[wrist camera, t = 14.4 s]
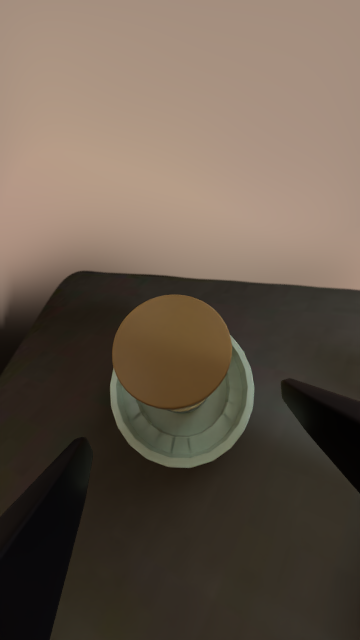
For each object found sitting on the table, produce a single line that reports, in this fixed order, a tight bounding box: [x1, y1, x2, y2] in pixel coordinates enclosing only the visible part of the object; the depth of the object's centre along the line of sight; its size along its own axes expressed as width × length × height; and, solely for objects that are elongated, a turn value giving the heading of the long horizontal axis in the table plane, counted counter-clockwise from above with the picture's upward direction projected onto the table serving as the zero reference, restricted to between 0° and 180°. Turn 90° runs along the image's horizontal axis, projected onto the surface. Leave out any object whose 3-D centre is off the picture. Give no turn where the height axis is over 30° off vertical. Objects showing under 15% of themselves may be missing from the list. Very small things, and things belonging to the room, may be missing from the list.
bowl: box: [110, 336, 254, 468], centre depth 18 cm, size 13×13×4 cm
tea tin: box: [112, 295, 232, 413], centre depth 14 cm, size 6×6×12 cm
